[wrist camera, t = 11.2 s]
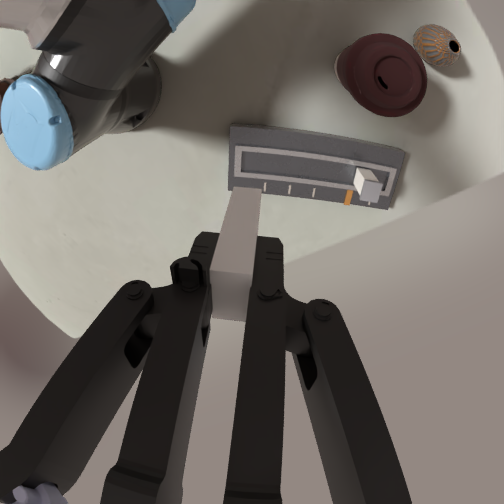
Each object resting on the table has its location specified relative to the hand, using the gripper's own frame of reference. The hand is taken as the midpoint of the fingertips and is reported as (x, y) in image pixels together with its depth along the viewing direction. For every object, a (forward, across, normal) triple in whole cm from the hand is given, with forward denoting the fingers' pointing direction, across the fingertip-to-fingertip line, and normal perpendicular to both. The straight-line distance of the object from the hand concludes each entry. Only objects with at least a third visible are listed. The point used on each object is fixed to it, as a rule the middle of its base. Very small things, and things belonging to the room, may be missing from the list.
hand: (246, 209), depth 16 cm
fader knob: (+28, +16, -8) cm, 34 cm away
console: (+30, +9, -8) cm, 33 cm away
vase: (+31, +24, +17) cm, 42 cm away
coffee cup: (+31, +13, +9) cm, 34 cm away
